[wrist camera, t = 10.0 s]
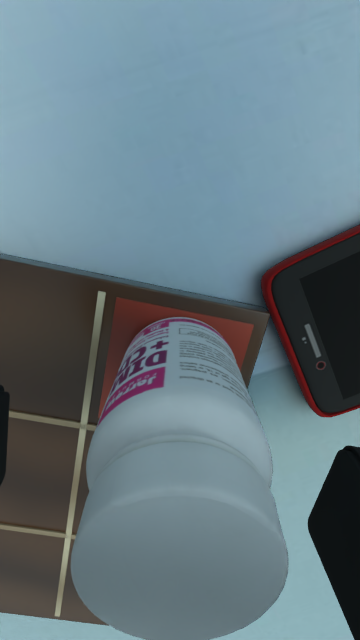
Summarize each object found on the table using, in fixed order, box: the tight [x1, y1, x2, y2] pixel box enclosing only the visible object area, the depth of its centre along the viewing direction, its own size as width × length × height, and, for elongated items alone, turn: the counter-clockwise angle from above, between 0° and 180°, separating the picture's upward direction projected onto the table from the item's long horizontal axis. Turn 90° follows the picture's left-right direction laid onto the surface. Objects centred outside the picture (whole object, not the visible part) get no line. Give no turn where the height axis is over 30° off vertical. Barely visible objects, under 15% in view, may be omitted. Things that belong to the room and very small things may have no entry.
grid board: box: [0, 254, 270, 626], centre depth 16 cm, size 21×21×1 cm
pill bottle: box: [71, 317, 288, 640], centre depth 10 cm, size 5×5×8 cm
